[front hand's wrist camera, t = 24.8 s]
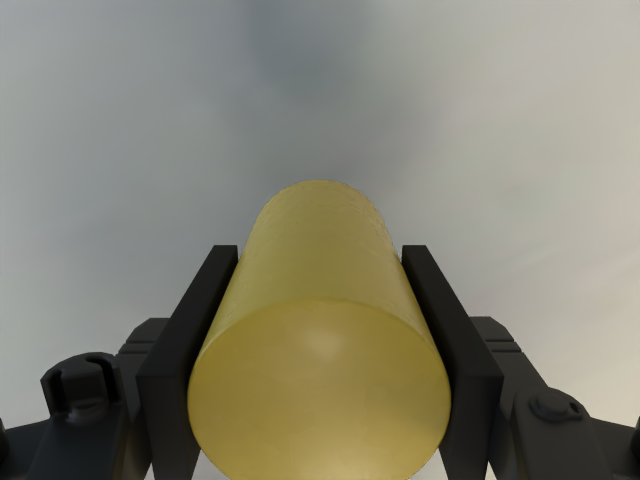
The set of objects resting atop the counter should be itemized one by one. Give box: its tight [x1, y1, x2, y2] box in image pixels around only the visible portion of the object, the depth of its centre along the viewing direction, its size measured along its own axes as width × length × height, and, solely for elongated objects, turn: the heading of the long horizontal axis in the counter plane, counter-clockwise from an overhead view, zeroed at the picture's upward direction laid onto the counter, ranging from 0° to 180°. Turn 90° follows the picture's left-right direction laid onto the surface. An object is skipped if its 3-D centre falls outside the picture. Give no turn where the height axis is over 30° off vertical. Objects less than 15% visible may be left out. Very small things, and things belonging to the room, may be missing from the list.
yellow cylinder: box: [187, 180, 451, 480], centre depth 13 cm, size 5×5×9 cm
